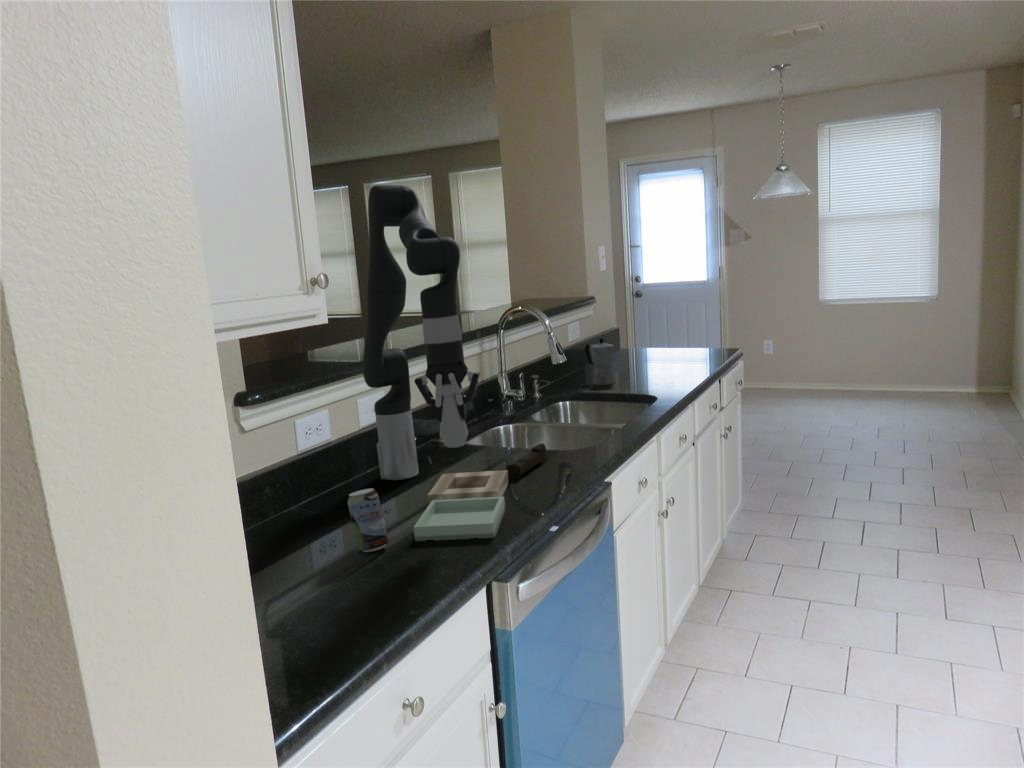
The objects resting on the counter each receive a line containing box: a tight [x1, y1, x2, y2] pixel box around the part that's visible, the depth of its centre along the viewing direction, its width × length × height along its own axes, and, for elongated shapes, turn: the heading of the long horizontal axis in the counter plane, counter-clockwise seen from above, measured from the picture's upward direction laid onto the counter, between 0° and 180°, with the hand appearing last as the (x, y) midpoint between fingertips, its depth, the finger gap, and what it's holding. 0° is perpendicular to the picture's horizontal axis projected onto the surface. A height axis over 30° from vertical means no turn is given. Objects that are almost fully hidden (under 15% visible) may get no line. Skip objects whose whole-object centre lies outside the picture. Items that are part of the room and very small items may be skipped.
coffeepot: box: [584, 337, 617, 386], centre depth 301 cm, size 15×9×18 cm, turn 44°
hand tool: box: [505, 443, 548, 480], centre depth 195 cm, size 19×4×5 cm, turn 149°
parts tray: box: [413, 496, 506, 542], centre depth 158 cm, size 16×16×3 cm
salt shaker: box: [438, 384, 469, 449], centre depth 155 cm, size 6×6×13 cm
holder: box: [427, 469, 510, 505], centre depth 178 cm, size 16×16×3 cm
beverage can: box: [347, 487, 389, 553], centre depth 149 cm, size 6×7×12 cm
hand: (452, 422), depth 156 cm, fingers closed on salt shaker, 3 cm apart
